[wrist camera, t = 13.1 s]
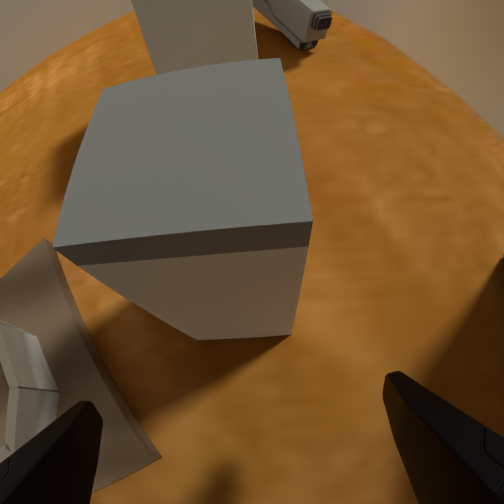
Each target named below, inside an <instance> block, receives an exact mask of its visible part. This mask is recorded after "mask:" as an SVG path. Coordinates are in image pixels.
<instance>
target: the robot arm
mask: <svg viewBox="0 0 504 504" xmlns="http://www.w3.org/2000/svg"><path fill="white" fill-rule="evenodd" d="M383 401H384V404H385V408H386V411H387V415H388V419H389V422H390V426H391V430H392V434H393V437H394V441H395V443H396V446H397V449H398V451H399V454H400V456H401V459H402V461H403V464H404V466H405V469H406V471H407V474H408V477H409V479H410V482H411V485H412V487H413V490H414V493H415V495H416V498H417V501H418V503H419V504H504V437H503V436H501V435H499V434H498V433H496V432H494V431H493V430H491V429H489V428H488V427H486V426H485V427H484V425H483V424H481V423H480V422H478V421H477V420H475V419H473V418H472V417H470V416H469V415H467V414H466V413H464V412H463V411H461V410H459V409H458V408H456V407H455V406H453V405H452V404H450V403H448V402H447V401H445V400H444V399H442V398H441V397H439V396H438V395H436V394H435V393H433V392H431V391H430V390H428V389H427V388H425V387H424V386H422V385H421V384H419V383H418V382H416V381H415V380H413V379H411V378H410V377H408V376H407V375H405V374H404V373H402V372H401V371H395V372H392V373H388V374H387V375H386V376H385V382H384V388H383ZM102 428H103V419H102V417H101V415H100V413H99V412H98V410H97V409H96V407H95V405H94V404H93V403H92V402H91V401H85V400H81V401H79V402H77V403H76V404H75V405H73V406H72V407H71V408H70V409H68V410H67V411H66V412H65V413H63V414H62V415H61V416H60V417H58V418H57V419H56V420H54V421H53V422H52V423H51V424H49V425H48V426H47V427H46V428H44V429H43V430H42V431H41V432H39V433H38V434H37V435H35V436H34V437H33V438H32V439H30V440H29V441H28V442H27V443H25V444H24V445H23V446H21V447H20V448H19V449H18V450H16V451H15V452H14V453H13V454H11V455H10V456H9V457H7V458H6V459H5V460H4V461H2V462H1V463H0V504H90V499H91V494H92V489H93V484H94V479H95V475H96V470H97V465H98V459H99V452H100V444H101V436H102Z"/></svg>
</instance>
